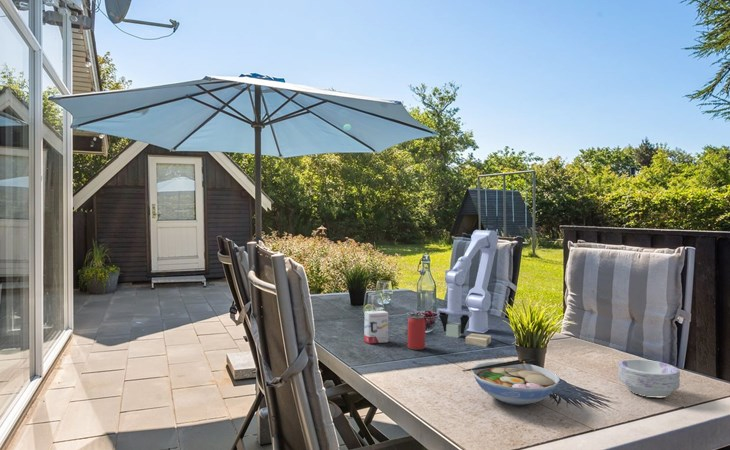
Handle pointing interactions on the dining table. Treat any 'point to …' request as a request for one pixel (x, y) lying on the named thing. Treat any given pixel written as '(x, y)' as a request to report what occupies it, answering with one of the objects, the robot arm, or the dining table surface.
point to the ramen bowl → (515, 381)
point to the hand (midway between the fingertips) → (453, 332)
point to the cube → (453, 329)
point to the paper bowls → (648, 377)
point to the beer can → (416, 332)
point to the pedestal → (478, 339)
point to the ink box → (376, 327)
